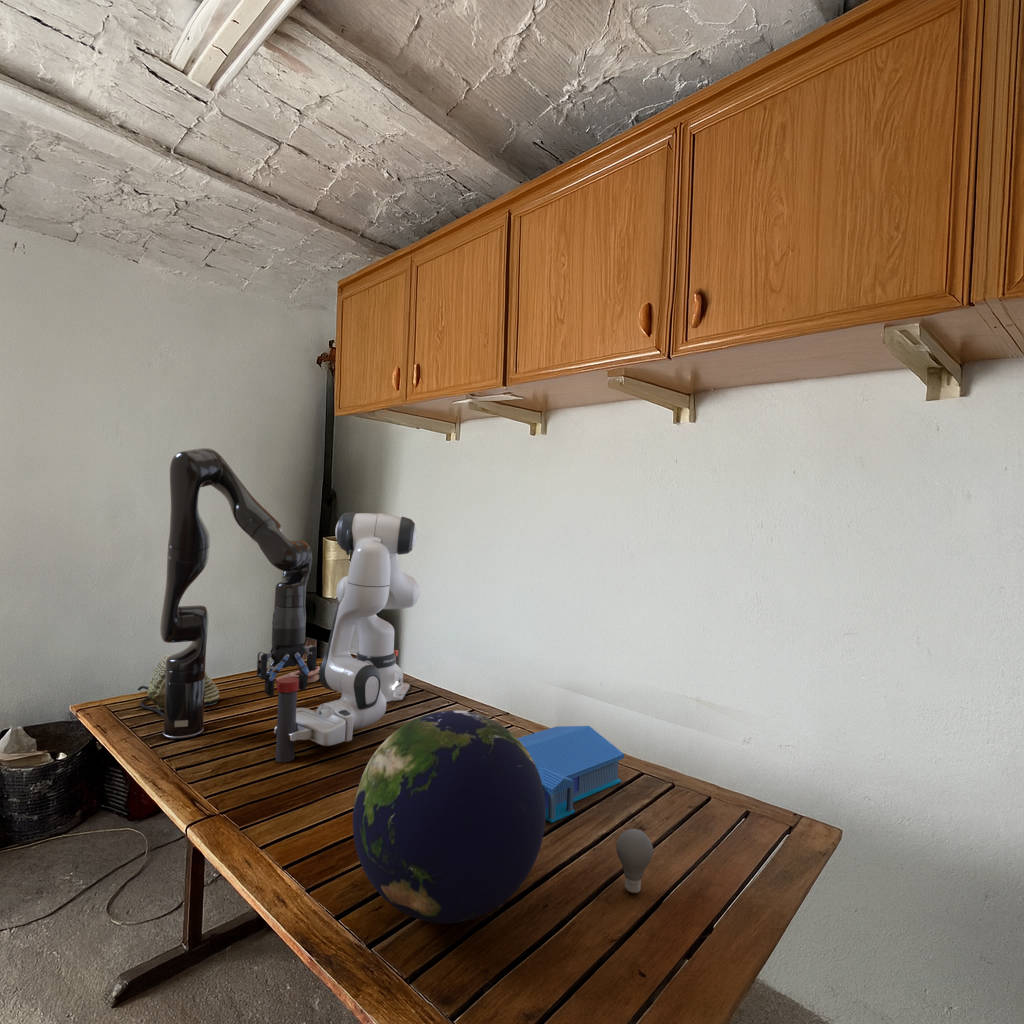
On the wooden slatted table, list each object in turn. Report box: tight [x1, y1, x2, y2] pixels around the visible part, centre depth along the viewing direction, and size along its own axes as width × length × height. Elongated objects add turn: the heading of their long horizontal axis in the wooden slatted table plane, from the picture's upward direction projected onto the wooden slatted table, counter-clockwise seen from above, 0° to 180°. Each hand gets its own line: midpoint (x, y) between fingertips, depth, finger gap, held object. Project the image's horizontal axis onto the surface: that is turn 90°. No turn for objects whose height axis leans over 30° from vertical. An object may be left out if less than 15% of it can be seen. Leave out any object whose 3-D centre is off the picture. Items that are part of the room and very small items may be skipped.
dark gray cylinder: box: [275, 690, 298, 763], centre depth 152 cm, size 4×4×18 cm
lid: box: [276, 677, 300, 693], centre depth 152 cm, size 5×5×2 cm
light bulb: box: [615, 828, 654, 894], centre depth 106 cm, size 6×6×10 cm
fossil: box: [147, 654, 221, 712], centre depth 185 cm, size 9×18×15 cm, turn 132°
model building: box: [516, 725, 625, 824], centre depth 140 cm, size 39×24×10 cm, turn 132°
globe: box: [352, 709, 547, 925], centre depth 100 cm, size 30×30×30 cm
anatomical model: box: [275, 665, 320, 684], centre depth 215 cm, size 13×4×12 cm
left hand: (286, 692), depth 151 cm, fingers open, 7 cm apart
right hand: (282, 734), depth 151 cm, fingers closed on dark gray cylinder, 4 cm apart
